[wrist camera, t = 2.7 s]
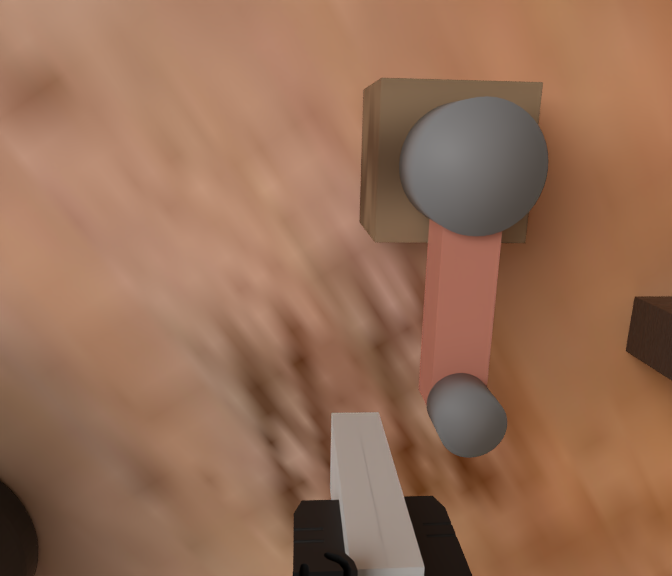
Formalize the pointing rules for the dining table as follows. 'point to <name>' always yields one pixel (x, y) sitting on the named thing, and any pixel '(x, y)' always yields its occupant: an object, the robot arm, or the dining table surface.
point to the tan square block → (388, 138)
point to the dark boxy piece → (652, 333)
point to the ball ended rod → (467, 251)
